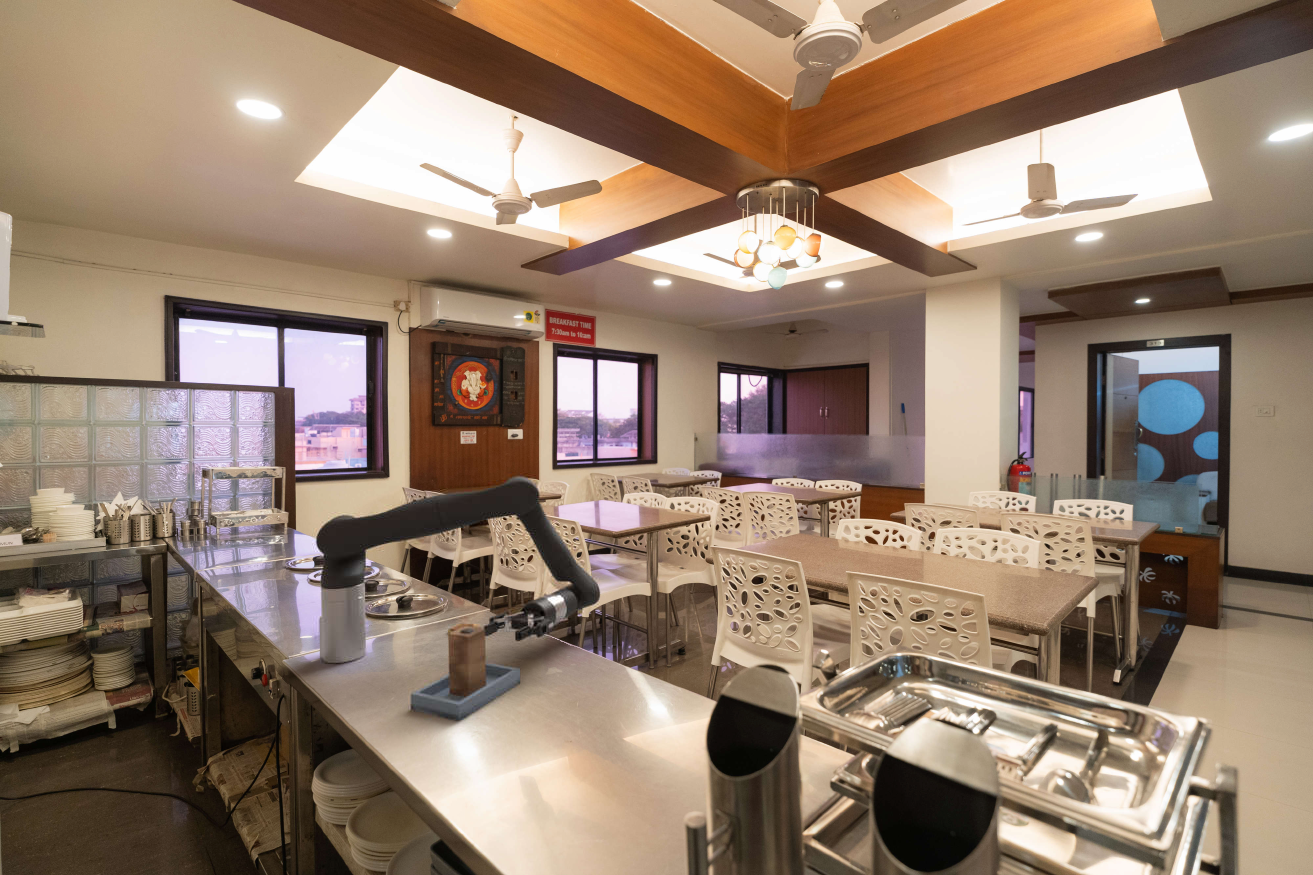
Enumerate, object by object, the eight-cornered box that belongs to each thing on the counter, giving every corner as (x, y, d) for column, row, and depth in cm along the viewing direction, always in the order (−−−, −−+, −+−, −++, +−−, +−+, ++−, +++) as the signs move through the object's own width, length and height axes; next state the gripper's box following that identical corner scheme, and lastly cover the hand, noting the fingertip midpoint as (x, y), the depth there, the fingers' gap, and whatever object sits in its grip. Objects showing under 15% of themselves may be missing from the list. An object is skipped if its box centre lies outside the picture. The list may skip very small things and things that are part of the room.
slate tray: (411, 709, 116) (410, 693, 116) (475, 673, 133) (475, 660, 133) (459, 720, 111) (459, 704, 111) (520, 682, 128) (519, 668, 128)
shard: (461, 644, 152) (461, 637, 152) (434, 642, 154) (434, 635, 154) (482, 630, 163) (482, 623, 163) (456, 628, 164) (456, 622, 164)
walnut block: (449, 693, 121) (448, 632, 121) (466, 683, 125) (465, 625, 125) (469, 697, 119) (468, 636, 118) (486, 687, 123) (485, 628, 123)
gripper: (519, 594, 149) (474, 613, 134) (569, 600, 143) (527, 620, 128) (520, 624, 149) (475, 646, 134) (569, 631, 143) (527, 655, 128)
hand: (500, 633), depth 131 cm, fingers open, 8 cm apart
